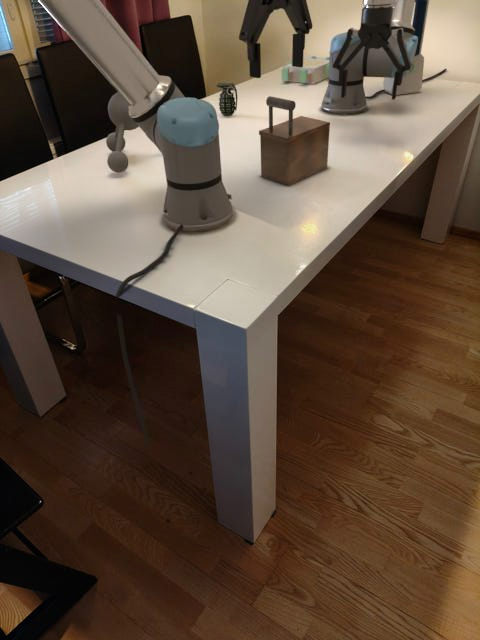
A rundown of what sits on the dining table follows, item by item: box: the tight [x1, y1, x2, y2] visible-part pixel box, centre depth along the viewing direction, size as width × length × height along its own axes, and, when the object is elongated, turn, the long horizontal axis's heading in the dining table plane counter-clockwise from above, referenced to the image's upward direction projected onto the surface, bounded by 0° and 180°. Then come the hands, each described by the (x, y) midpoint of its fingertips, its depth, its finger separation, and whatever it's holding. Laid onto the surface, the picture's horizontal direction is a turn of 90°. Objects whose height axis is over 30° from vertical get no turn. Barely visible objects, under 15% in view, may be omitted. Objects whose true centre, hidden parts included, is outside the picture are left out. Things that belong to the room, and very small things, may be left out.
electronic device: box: [382, 0, 430, 96], centre depth 174 cm, size 12×8×30 cm, turn 105°
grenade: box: [215, 82, 238, 117], centre depth 166 cm, size 7×6×10 cm
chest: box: [259, 126, 331, 186], centre depth 122 cm, size 15×9×10 cm, turn 134°
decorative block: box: [281, 55, 330, 85], centre depth 206 cm, size 26×6×20 cm
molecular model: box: [105, 91, 140, 174], centre depth 130 cm, size 24×22×30 cm
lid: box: [258, 95, 331, 143], centre depth 116 cm, size 16×9×8 cm, turn 134°
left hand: (277, 71), depth 109 cm, fingers open, 13 cm apart
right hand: (368, 97), depth 134 cm, fingers open, 13 cm apart
